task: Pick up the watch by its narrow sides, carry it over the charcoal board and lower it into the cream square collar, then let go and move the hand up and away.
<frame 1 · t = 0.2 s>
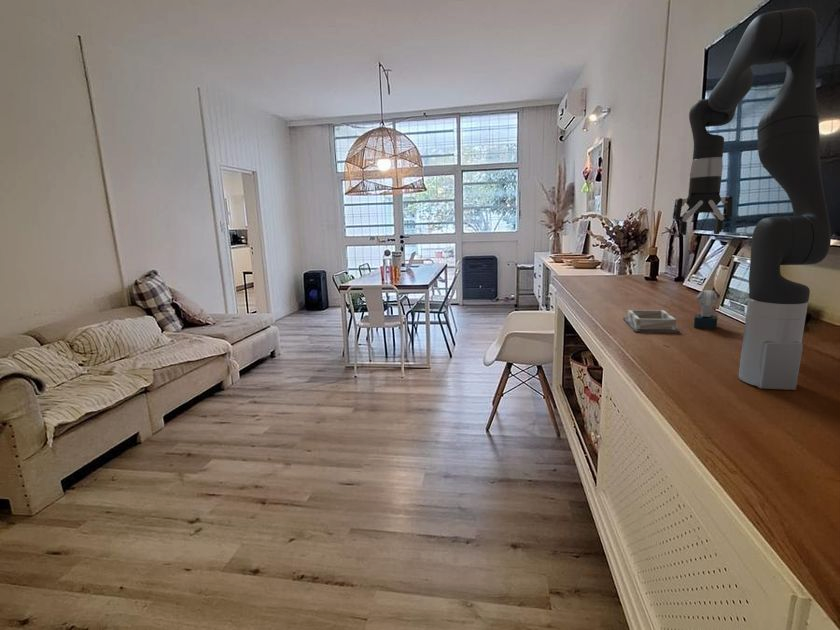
hand: (699, 234, 126), 27 cm above the table, tool pointing down, fingers open, 8 cm apart
holder: (649, 325, 134), on the table
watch: (704, 327, 131), on the table
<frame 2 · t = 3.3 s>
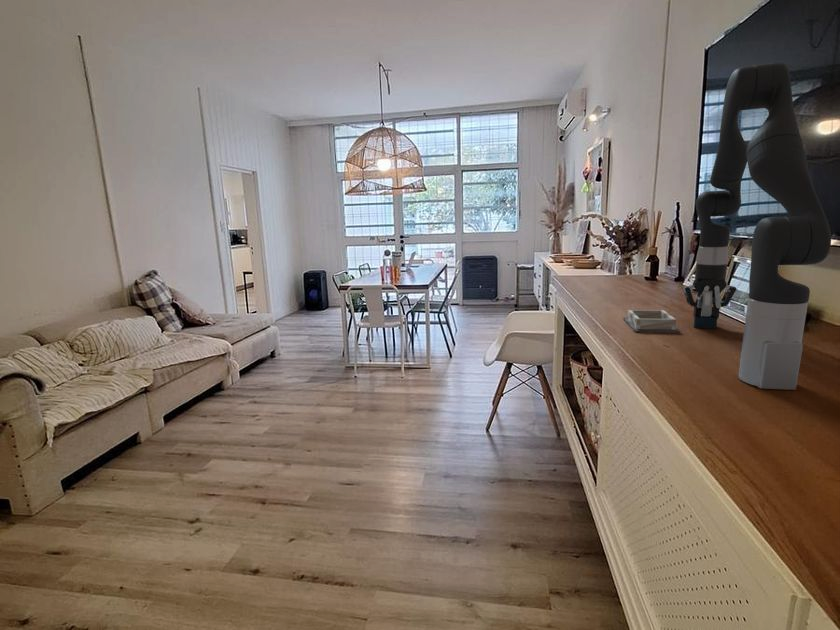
hand: (705, 319, 130), 2 cm above the table, tool pointing down, fingers closed on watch, 3 cm apart
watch: (704, 326, 131), on the table, touching gripper
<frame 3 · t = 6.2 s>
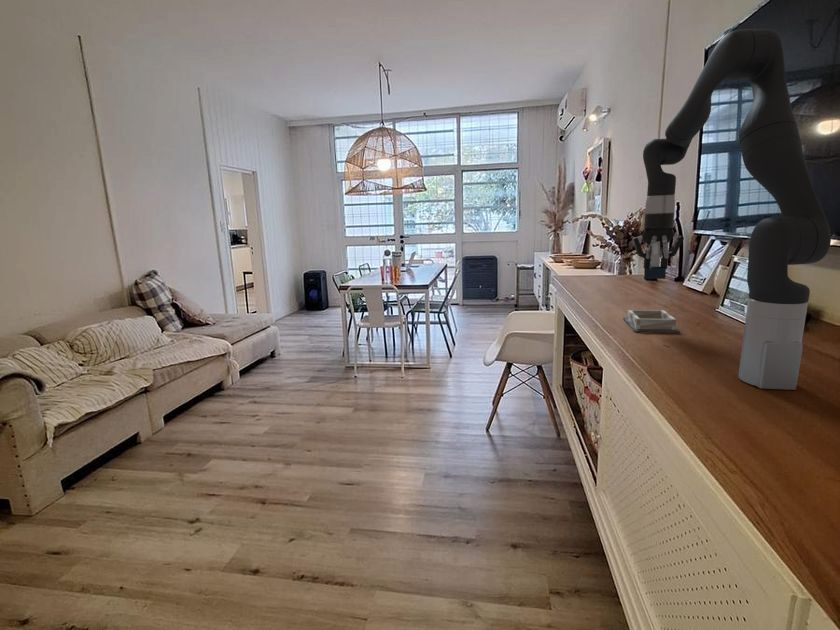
hand: (655, 270, 130), 17 cm above the table, tool pointing down, fingers closed on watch, 3 cm apart
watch: (654, 278, 131), point 15 cm above the table, touching gripper
when the fingers open (4 cm above the table, at t = 9.4 s): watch drops 1 cm, resting on holder.
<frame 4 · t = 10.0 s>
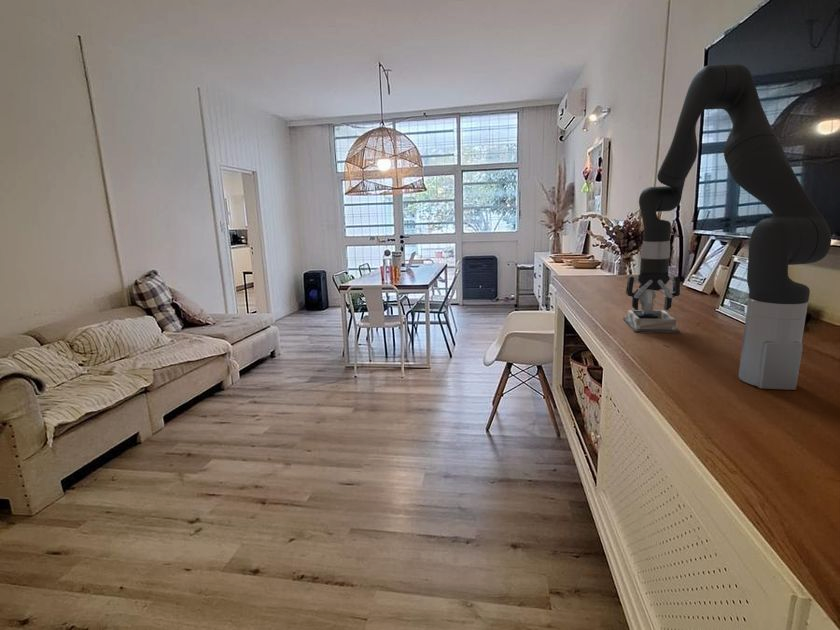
hand: (651, 309, 133), 5 cm above the table, tool pointing down, fingers open, 8 cm apart
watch: (645, 324, 134), resting on holder
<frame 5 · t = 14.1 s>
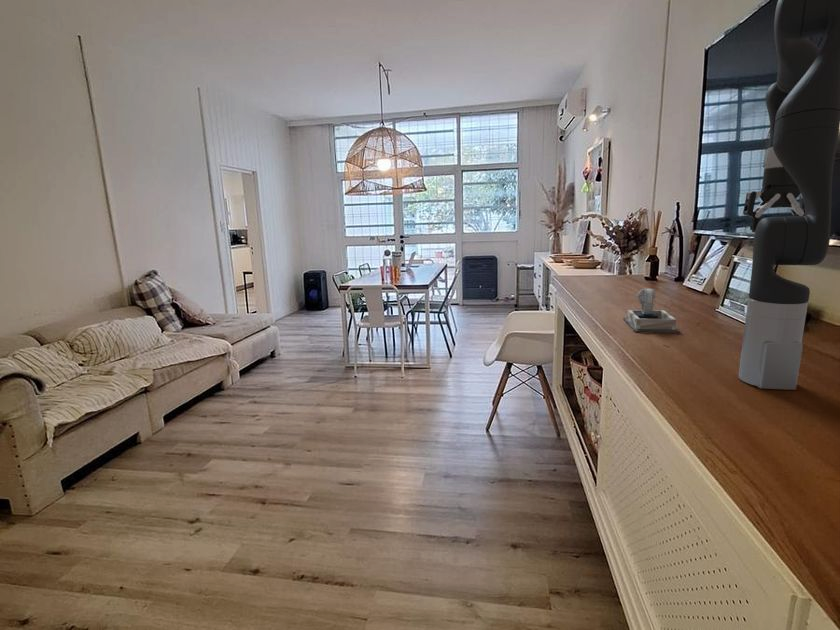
hand: (774, 231, 113), 28 cm above the table, tool pointing down, fingers open, 8 cm apart
nothing on the table moved.
at the end: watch 1.2 cm from the holder (horizontally); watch resting on holder; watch tilted 0° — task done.
